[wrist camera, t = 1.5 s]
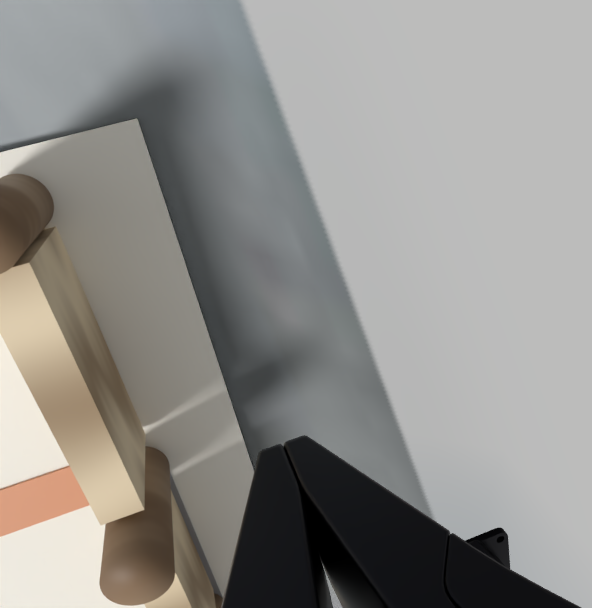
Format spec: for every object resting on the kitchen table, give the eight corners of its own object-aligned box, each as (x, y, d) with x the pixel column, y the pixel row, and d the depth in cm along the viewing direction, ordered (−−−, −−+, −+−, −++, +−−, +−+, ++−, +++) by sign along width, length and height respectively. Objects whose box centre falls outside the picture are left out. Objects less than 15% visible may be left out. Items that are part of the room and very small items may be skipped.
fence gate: (176, 480, 23) (184, 588, 18) (122, 499, 23) (114, 615, 17) (45, 165, 17) (1, 192, 12) (-30, 184, 17) (-108, 221, 12)
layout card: (293, 590, 28) (296, 598, 28) (-70, 736, 26) (-75, 747, 25) (137, 118, 18) (137, 118, 18) (-501, 276, 15) (-520, 281, 15)
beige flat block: (228, 610, 27) (244, 717, 22) (191, 625, 27) (199, 737, 22) (174, 483, 23) (180, 579, 19) (131, 498, 23) (126, 600, 18)
